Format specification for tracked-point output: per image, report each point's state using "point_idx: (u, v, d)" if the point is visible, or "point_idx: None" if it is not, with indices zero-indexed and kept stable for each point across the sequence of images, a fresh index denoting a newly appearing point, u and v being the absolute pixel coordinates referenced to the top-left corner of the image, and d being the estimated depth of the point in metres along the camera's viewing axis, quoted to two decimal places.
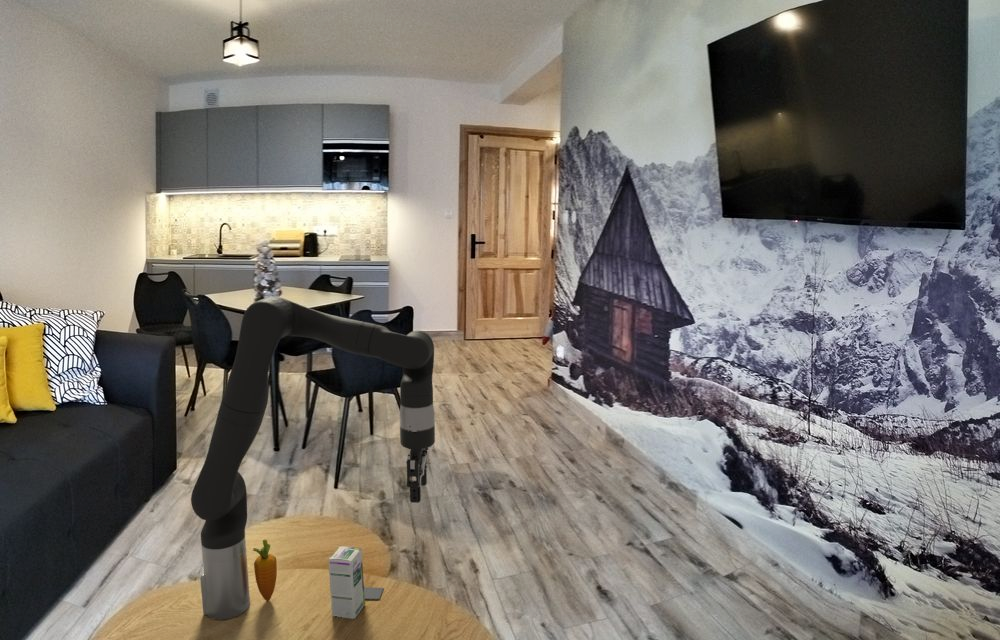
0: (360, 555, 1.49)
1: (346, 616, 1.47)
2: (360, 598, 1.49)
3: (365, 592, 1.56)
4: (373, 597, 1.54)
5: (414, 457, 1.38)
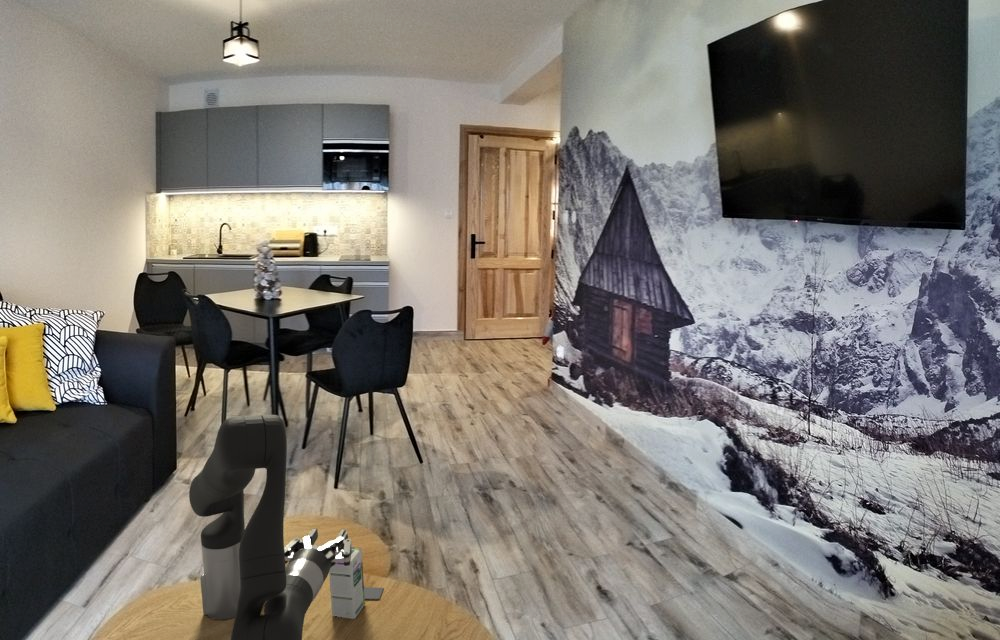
0: (360, 555, 1.49)
1: (346, 616, 1.47)
2: (360, 598, 1.49)
3: (365, 592, 1.56)
4: (373, 597, 1.54)
5: (290, 559, 1.25)
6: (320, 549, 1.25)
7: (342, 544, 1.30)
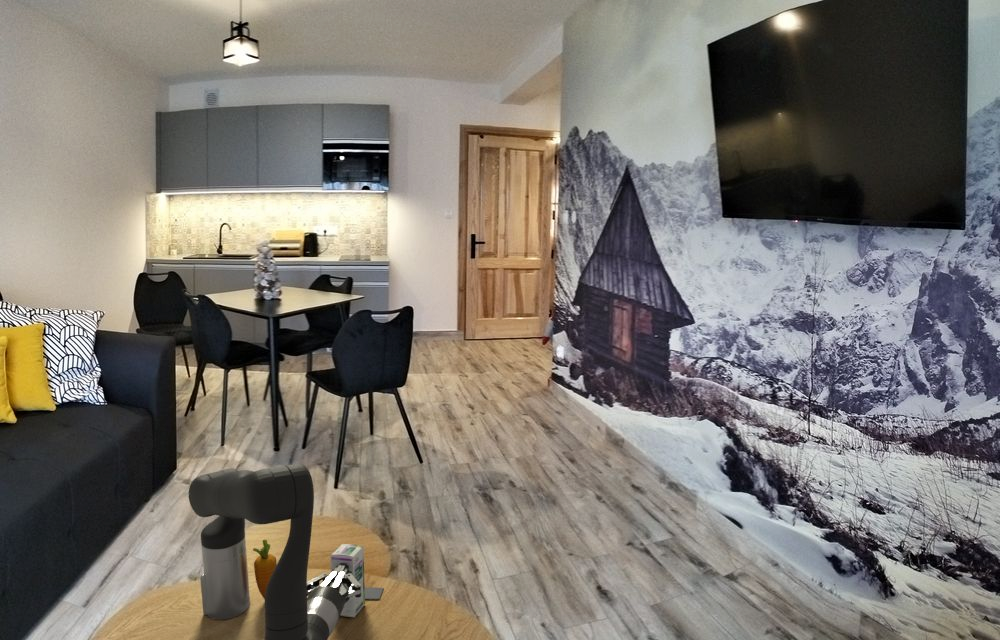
0: (362, 553, 1.50)
1: (346, 614, 1.47)
2: (360, 597, 1.49)
3: (365, 592, 1.56)
4: (373, 597, 1.54)
5: (309, 593, 1.36)
6: (335, 586, 1.35)
7: (343, 578, 1.40)
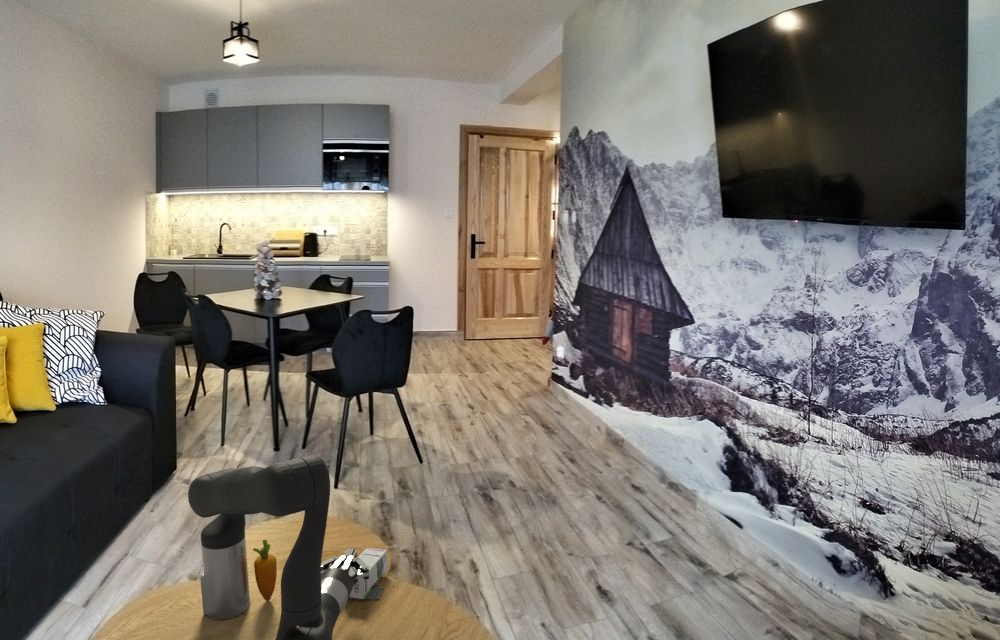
0: (385, 569, 1.65)
1: None
2: (369, 582, 1.55)
3: None
4: (373, 597, 1.54)
5: None
6: (345, 568, 1.42)
7: (352, 562, 1.47)
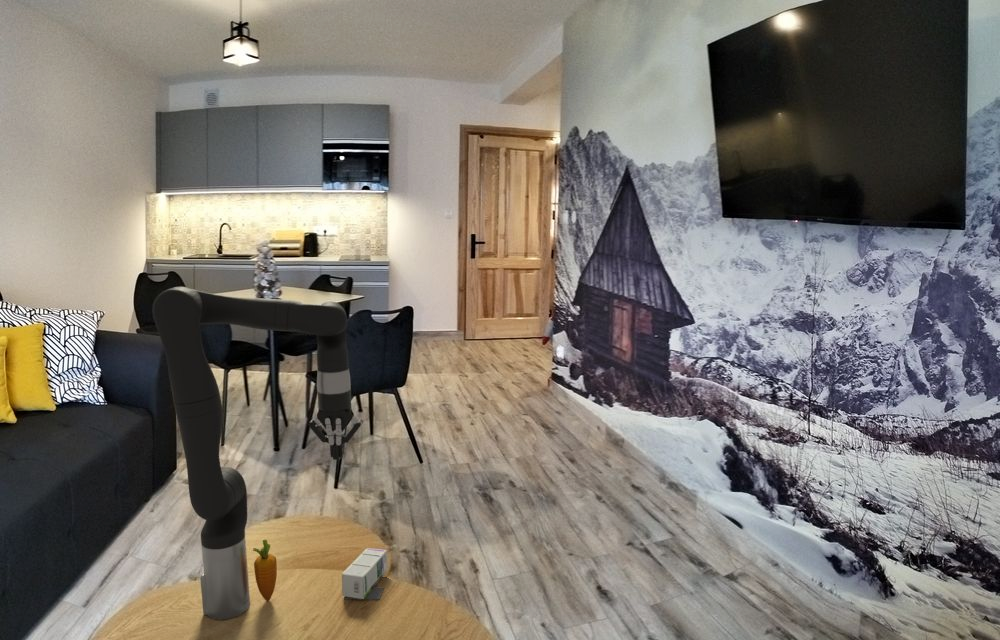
0: (385, 569, 1.65)
1: (356, 574, 1.53)
2: (369, 582, 1.55)
3: None
4: (373, 597, 1.54)
5: (316, 417, 1.52)
6: None
7: (343, 436, 1.53)
